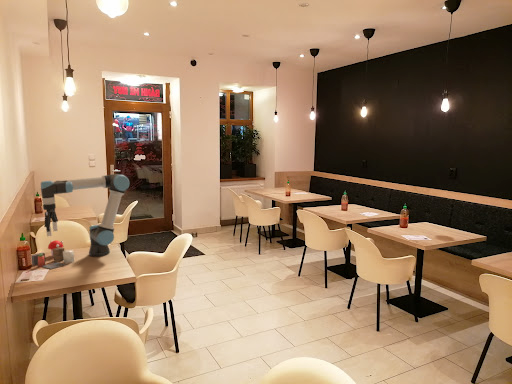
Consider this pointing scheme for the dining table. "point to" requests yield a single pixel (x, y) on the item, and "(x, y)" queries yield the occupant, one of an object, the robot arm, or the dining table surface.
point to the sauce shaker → (41, 260)
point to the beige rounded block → (68, 256)
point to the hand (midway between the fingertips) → (52, 233)
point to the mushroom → (55, 245)
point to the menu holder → (36, 258)
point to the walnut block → (58, 254)
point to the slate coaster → (53, 265)
